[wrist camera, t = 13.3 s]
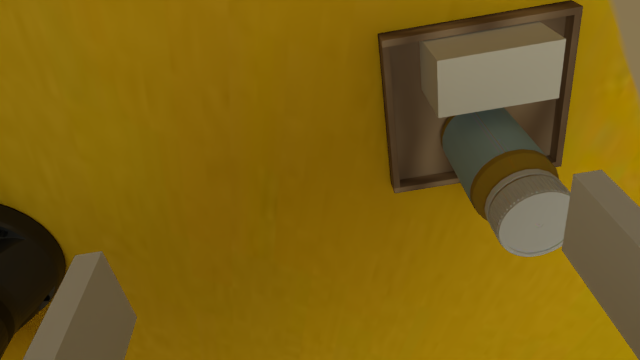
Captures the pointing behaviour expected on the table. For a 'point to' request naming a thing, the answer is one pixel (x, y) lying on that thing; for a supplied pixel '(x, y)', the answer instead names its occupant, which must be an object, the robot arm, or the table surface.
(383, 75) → the tray
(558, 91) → the carton
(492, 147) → the bottle
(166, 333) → the table surface
